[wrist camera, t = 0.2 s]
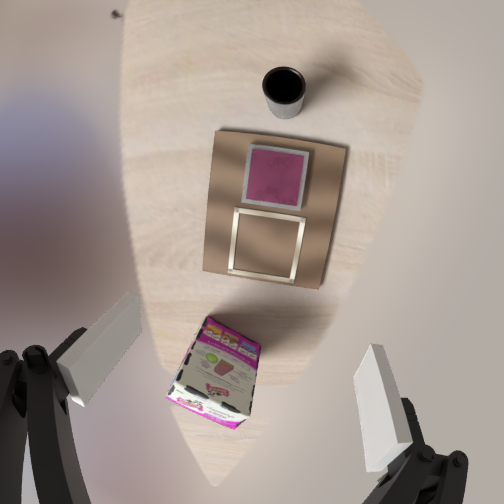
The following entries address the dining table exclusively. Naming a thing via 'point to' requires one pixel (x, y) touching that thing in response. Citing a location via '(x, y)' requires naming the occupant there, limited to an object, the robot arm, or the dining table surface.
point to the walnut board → (270, 215)
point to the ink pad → (274, 177)
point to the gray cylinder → (284, 91)
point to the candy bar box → (217, 375)
